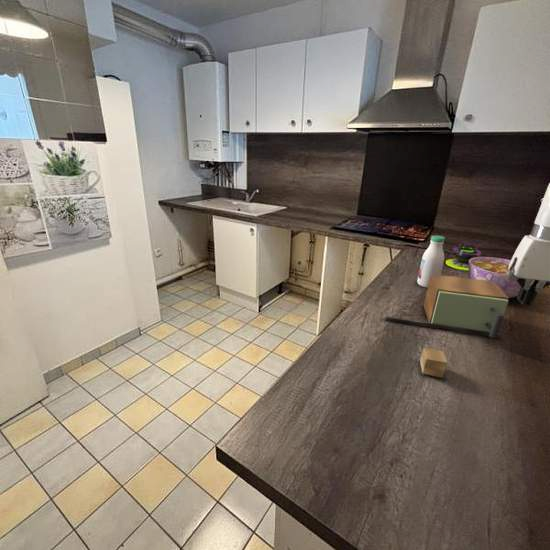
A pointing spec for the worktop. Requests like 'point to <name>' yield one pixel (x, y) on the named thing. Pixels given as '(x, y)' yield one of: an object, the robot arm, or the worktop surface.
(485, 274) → the bowl of food
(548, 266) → the robot arm
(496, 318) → the sliding door
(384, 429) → the worktop surface
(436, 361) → the block
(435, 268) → the milk bottle
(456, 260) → the toy cauldron
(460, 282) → the cupboard
